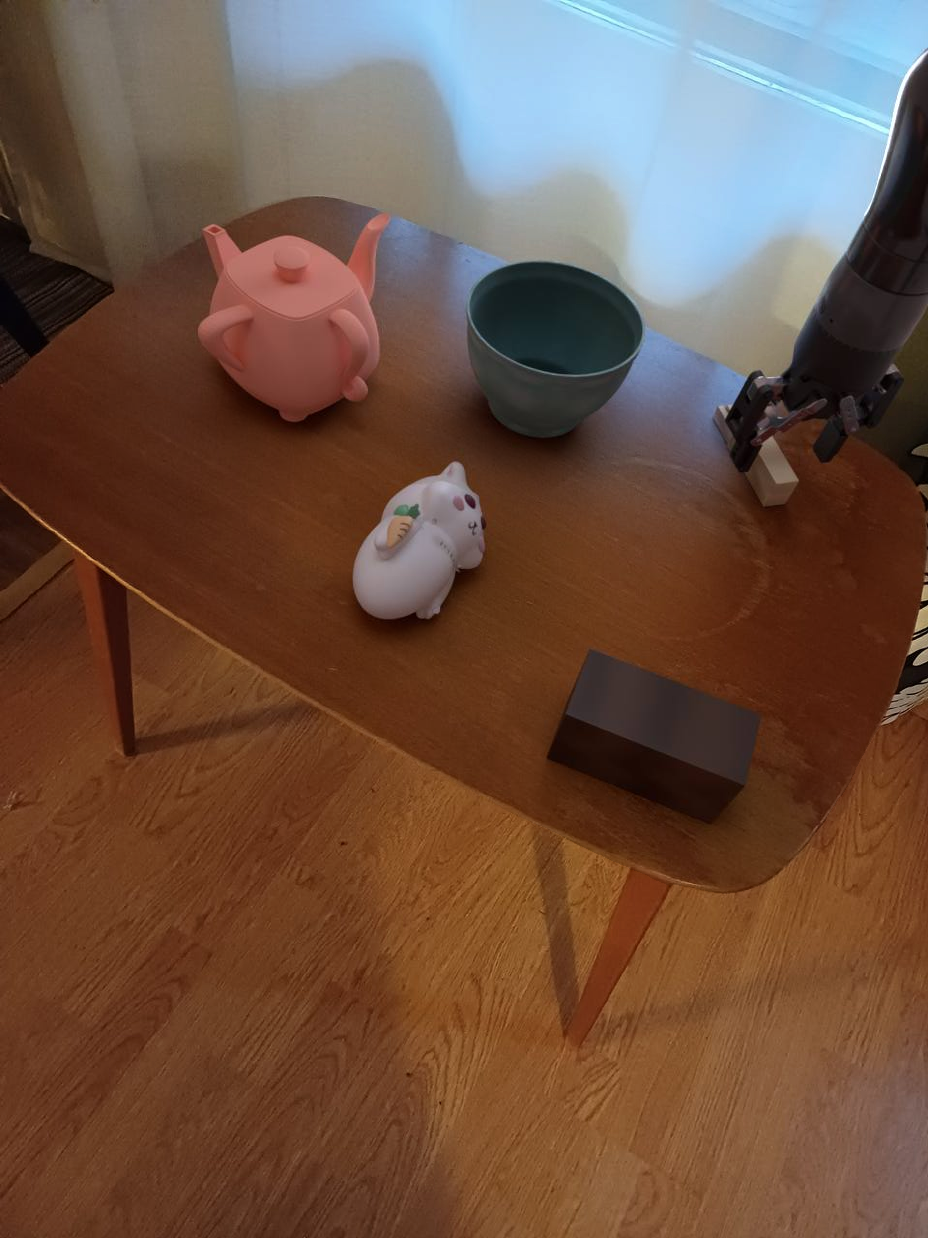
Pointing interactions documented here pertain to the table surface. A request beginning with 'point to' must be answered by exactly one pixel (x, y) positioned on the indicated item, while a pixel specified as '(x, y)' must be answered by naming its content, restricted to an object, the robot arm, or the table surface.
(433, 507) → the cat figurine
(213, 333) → the teapot
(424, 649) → the table surface
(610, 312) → the flower pot
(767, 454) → the fork
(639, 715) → the stand
